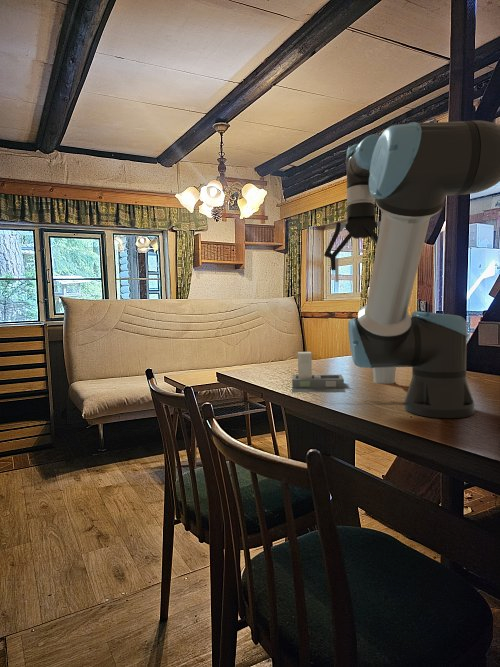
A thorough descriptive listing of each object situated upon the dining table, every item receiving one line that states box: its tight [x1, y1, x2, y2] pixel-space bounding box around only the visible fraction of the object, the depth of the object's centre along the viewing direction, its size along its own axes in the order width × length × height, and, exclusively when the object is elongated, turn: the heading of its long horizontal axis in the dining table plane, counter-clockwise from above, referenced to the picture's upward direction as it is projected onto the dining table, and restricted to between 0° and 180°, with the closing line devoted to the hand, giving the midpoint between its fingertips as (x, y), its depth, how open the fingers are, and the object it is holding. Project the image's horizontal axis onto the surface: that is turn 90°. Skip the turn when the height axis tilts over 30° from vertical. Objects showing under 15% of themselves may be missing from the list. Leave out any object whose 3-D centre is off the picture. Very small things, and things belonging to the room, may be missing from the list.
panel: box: [291, 374, 346, 393], centre depth 132 cm, size 20×15×4 cm
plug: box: [297, 351, 313, 379], centre depth 132 cm, size 5×4×10 cm
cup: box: [372, 367, 397, 385], centre depth 134 cm, size 8×8×12 cm
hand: (361, 281), depth 122 cm, fingers open, 13 cm apart
